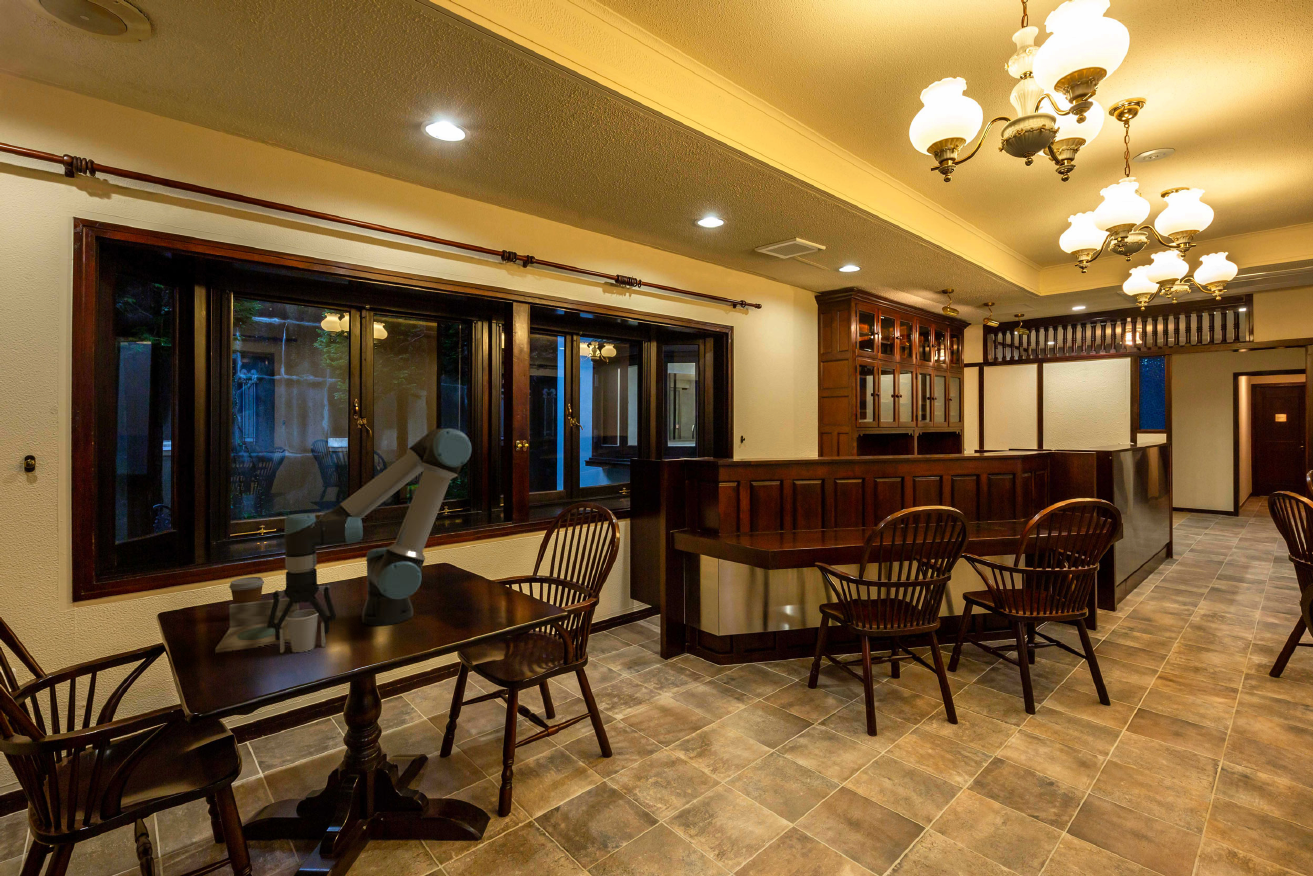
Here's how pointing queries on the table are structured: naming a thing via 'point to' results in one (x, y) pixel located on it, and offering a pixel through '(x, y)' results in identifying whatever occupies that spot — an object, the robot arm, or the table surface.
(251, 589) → the disposable coffee cup
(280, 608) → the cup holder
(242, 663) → the table surface
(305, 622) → the dixie cup
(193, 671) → the table surface
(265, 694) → the table surface
